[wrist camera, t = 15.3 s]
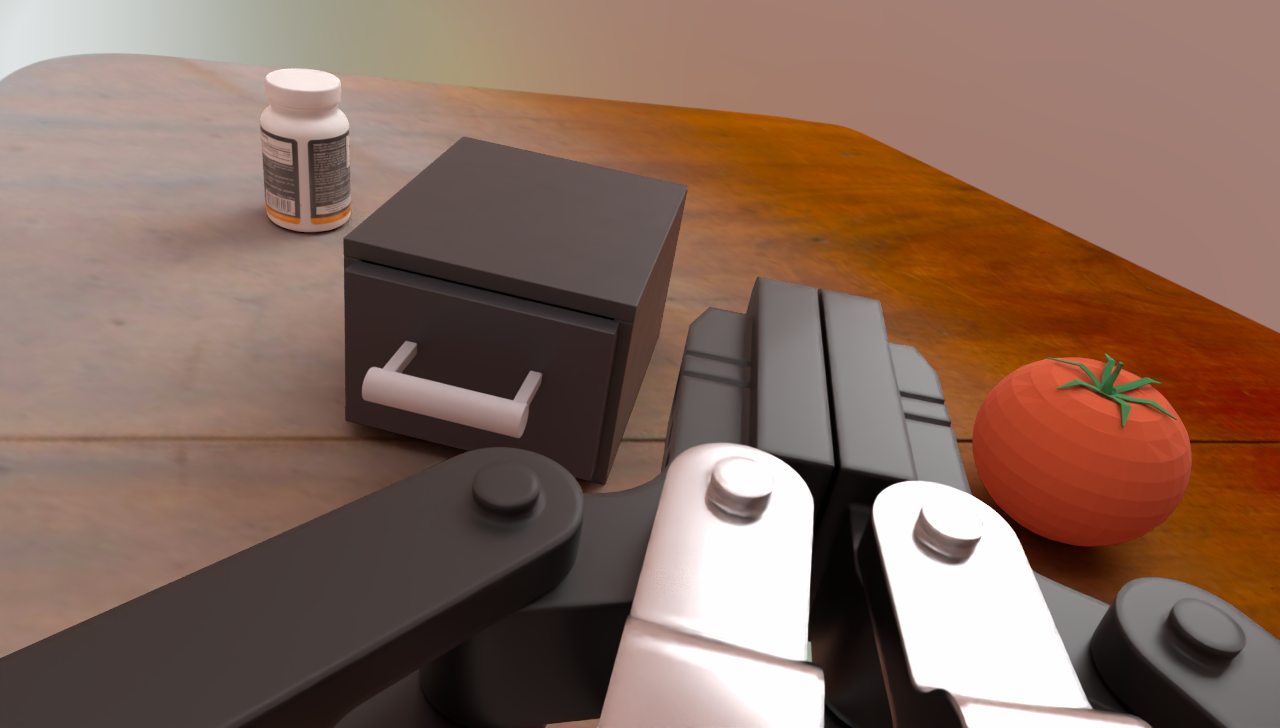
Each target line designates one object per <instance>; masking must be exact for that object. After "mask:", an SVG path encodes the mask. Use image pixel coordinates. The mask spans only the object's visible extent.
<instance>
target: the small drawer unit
mask: <svg viewBox="0 0 1280 728" xmlns="http://www.w3.org/2000/svg"><path fill="white" fill-rule="evenodd" d="M687 189H688V186H685V185H681V184H676V183H672V182H667V181H662V180H658V179H653V178H649V177H644V176H640V175H635V174H631V173H626V172H622V171H617V170H613V169H608V168H604V167H599V166H595V165H590V164H586V163H581V162H577V161H572V160H568V159H563V158H559V157H554V156H549V155H545V154H540V153H536V152H531V151H527V150H522V149H518V148H513V147H509V146H504V145H500V144H495V143H491V142H486V141H482V140H477V139H473V138H468V137H462V138H461V139H460V140H458V141H457V142H456V143H455V144H454V145H453V146H451V147H450V148H449V149H448V150H447V151H446V152H444V153H443V154H442V155H441V156H440V157H439V158H437V159H436V160H435V161H434V162H433V163H431V164H430V165H429V166H428V167H427V168H426V169H424V170H423V171H422V172H421V173H420V174H419V175H417V176H416V177H415V178H414V179H413V180H412V181H410V182H409V183H408V184H407V185H406V186H404V187H403V188H402V189H401V190H400V191H399V192H397V193H396V194H395V195H394V196H393V197H392V198H390V199H389V200H388V201H387V202H386V203H384V204H383V205H382V206H381V207H380V208H379V209H377V210H376V211H375V212H374V213H373V214H372V215H370V216H369V217H368V218H367V219H366V220H365V221H363V222H362V223H361V224H360V225H359V226H357V227H356V228H355V229H354V230H353V231H352V232H350V233H349V234H348V235H347V236H346V237H345V238H344V271H345V270H346V269H347V268H348V267H349V266H350V265H351V264H352V263H353V262H354V261H355V260H357V261H361V262H366V263H370V264H374V265H378V266H383V267H385V265H387V266H391V267H395V268H400V269H404V270H408V271H412V272H417V273H421V274H425V275H430V276H434V277H438V278H442V279H447V280H451V281H455V282H459V283H464V284H468V285H472V286H476V287H481V288H485V289H489V290H494V291H498V292H502V293H506V294H511V295H515V296H519V297H523V298H528V299H532V300H536V301H541V302H545V303H549V304H553V305H558V306H562V307H566V308H570V309H575V310H579V311H583V312H588V313H592V314H596V315H600V316H605V317H609V318H613V319H615V320H614V321H617V322H620V328H619V334H618V340H617V346H616V351H615V357H614V363H613V369H612V375H611V381H610V387H609V393H608V399H607V405H606V411H605V417H604V423H603V429H602V435H601V441H600V447H599V452H598V458H597V464H596V468H595V471H594V474H593V476H592V479H591V481H594V482H598V483H602V484H605V483H606V481H607V478H608V475H609V473H610V470H611V467H612V464H613V461H614V459H615V456H616V453H617V450H618V448H619V445H620V442H621V439H622V436H623V434H624V431H625V428H626V425H627V423H628V420H629V417H630V414H631V412H632V409H633V406H634V403H635V400H636V398H637V395H638V392H639V389H640V387H641V384H642V381H643V378H644V375H645V373H646V370H647V367H648V364H649V362H650V359H651V356H652V353H653V350H654V348H655V345H656V342H657V339H658V337H659V333H660V328H661V322H662V317H663V312H664V307H665V302H666V297H667V292H668V286H669V281H670V276H671V271H672V266H673V261H674V256H675V251H676V245H677V240H678V235H679V230H680V225H681V220H682V215H683V210H684V204H685V199H686V194H687ZM345 419H346V406H345Z"/></svg>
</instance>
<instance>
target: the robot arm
mask: <svg viewBox="0 0 1280 728" xmlns="http://www.w3.org/2000/svg"><path fill="white" fill-rule="evenodd" d="M944 401H945V399H944V395H943V392H942V388H941V385H940V381H939V378H938V374H937V372H936V371H935V370H934V369H933V368H932V367H931V366H930V365H929V363H928V362H927V361H926V360H925V359H924V358H923V357H922V356H921V354H920V353H919V352H918V351H917V350H916V349H915V348H914V347H912V346H907V345H902V344H897V343H892V342H889V341H888V336H887V332H886V327H885V322H884V318H883V313H882V308H881V304H880V301H879V300H876V299H871V298H866V297H861V296H856V295H851V294H845V293H840V292H835V291H830V290H825V289H819V290H818V291H817V289H816V288H814V287H809V286H803V285H798V284H793V283H788V282H783V281H778V280H773V279H768V278H762V277H757V279H756V281H755V284H754V287H753V291H752V294H751V298H750V302H749V306H748V310H747V313H746V314H742V313H737V312H732V311H727V310H722V309H717V308H712V307H709V308H708V309H707V310H706V311H705V312H704V313H702V314H701V315H700V316H699V317H698V318H697V319H696V320H695V321H694V322H693V323H692V324H690V326H689V331H688V336H687V340H686V345H685V349H684V354H683V358H682V363H681V367H680V372H679V377H678V381H677V386H676V390H675V395H674V399H673V404H672V409H671V413H670V418H669V422H668V428H667V435H666V442H665V449H664V456H663V462H662V469H661V474H659V475H658V476H657V477H655V478H654V479H653V480H651V481H649V482H647V483H645V484H643V485H641V486H638V487H635V488H633V489H629V490H624V491H620V492H611V493H594V494H583V491H582V489H581V487H580V485H579V483H578V482H577V480H576V479H575V478H574V476H573V475H572V474H571V473H570V472H569V471H568V470H567V469H565V468H564V467H563V466H561V465H560V464H558V463H557V462H555V461H553V460H552V459H550V458H548V457H546V456H543V455H540V454H538V453H535V452H532V451H527V450H523V449H517V448H509V447H491V448H481V449H477V450H472V451H468V452H465V453H462V454H460V455H457V456H455V457H452V458H450V459H448V460H446V461H443V462H441V463H439V464H437V465H434V466H432V467H430V468H428V469H425V470H423V471H421V472H419V473H416V474H414V475H412V476H410V477H407V478H405V479H403V480H401V481H398V482H396V483H394V484H392V485H389V486H387V487H385V488H383V489H380V490H378V491H376V492H374V493H371V494H369V495H367V496H365V497H362V498H360V499H358V500H356V501H353V502H351V503H349V504H347V505H344V506H342V507H340V508H338V509H335V510H333V511H331V512H329V513H326V514H324V515H322V516H320V517H317V518H315V519H313V520H311V521H308V522H306V523H304V524H302V525H299V526H297V527H295V528H293V529H290V530H288V531H286V532H284V533H281V534H279V535H277V536H275V537H272V538H270V539H268V540H266V541H263V542H261V543H259V544H257V545H254V546H252V547H250V548H248V549H245V550H243V551H241V552H239V553H236V554H234V555H232V556H230V557H227V558H225V559H223V560H221V561H218V562H216V563H214V564H212V565H209V566H207V567H205V568H203V569H200V570H198V571H196V572H194V573H191V574H189V575H187V576H185V577H182V578H180V579H178V580H176V581H173V582H171V583H169V584H167V585H164V586H162V587H160V588H158V589H155V590H153V591H151V592H149V593H146V594H144V595H142V596H140V597H137V598H135V599H133V600H131V601H128V602H126V603H124V604H122V605H119V606H117V607H115V608H113V609H110V610H108V611H106V612H104V613H101V614H99V615H97V616H95V617H92V618H90V619H88V620H86V621H83V622H81V623H79V624H77V625H74V626H72V627H70V628H68V629H65V630H63V631H61V632H59V633H56V634H54V635H52V636H50V637H47V638H45V639H43V640H41V641H38V642H36V643H34V644H32V645H29V646H27V647H25V648H23V649H20V650H18V651H16V652H14V653H11V654H9V655H7V656H5V657H2V658H0V728H545V727H546V725H547V724H553V723H562V722H571V721H580V720H589V719H598V718H600V721H599V725H598V728H1280V641H1279V640H1277V639H1276V638H1275V637H1273V636H1272V635H1271V634H1269V633H1268V632H1267V631H1265V630H1264V629H1263V628H1261V627H1260V626H1259V625H1258V624H1256V623H1255V622H1254V621H1252V620H1251V619H1250V618H1248V617H1247V616H1246V615H1244V614H1243V613H1242V612H1240V611H1239V610H1237V609H1236V608H1234V607H1233V606H1232V605H1230V604H1229V603H1227V602H1225V601H1224V600H1222V599H1220V598H1218V597H1217V596H1215V595H1213V594H1211V593H1209V592H1207V591H1205V590H1203V589H1201V588H1198V587H1195V586H1193V585H1190V584H1187V583H1184V582H1180V581H1177V580H1173V579H1167V578H1161V577H1145V578H1138V579H1135V580H1133V581H1130V582H1128V583H1127V584H1125V585H1124V586H1123V587H1122V588H1121V590H1120V591H1119V592H1118V594H1117V596H1116V597H1115V599H1114V600H1113V602H1112V604H1111V605H1109V604H1106V603H1104V602H1102V601H1099V600H1097V599H1095V598H1092V597H1090V596H1088V595H1085V594H1083V593H1081V592H1078V591H1076V590H1073V589H1071V588H1069V587H1066V586H1064V585H1062V584H1059V583H1057V582H1055V581H1052V580H1050V579H1048V578H1046V577H1044V576H1042V575H1040V574H1038V573H1036V572H1035V571H1033V570H1032V569H1031V567H1030V565H1029V562H1028V560H1027V558H1026V555H1025V553H1024V551H1023V548H1022V546H1021V544H1020V541H1019V539H1018V538H1017V536H1016V534H1015V532H1014V531H1013V529H1012V528H1011V527H1010V525H1009V524H1008V523H1007V522H1006V521H1005V520H1004V519H1003V518H1002V517H1001V516H1000V515H999V514H998V513H997V512H996V511H994V510H993V509H992V508H991V507H989V506H988V505H986V504H985V503H983V502H982V501H980V500H979V499H977V498H975V497H973V496H972V494H971V491H970V487H969V484H968V480H967V477H966V473H965V470H964V466H963V463H962V459H961V455H960V452H959V448H958V445H957V441H956V438H955V434H954V431H953V428H951V427H950V424H951V420H950V417H949V413H948V410H947V406H946V405H944ZM808 642H811V655H812V662H809V661H807V643H808Z"/></svg>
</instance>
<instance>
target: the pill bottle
mask: <svg viewBox="0 0 1280 728" xmlns="http://www.w3.org/2000/svg"><path fill="white" fill-rule="evenodd" d="M265 87H266V96H267V97H268V99H269V101H270V102H271V105H269V106H268V107H267V108H266V109H265V110H264V111H263V113H262V115H261V118H260V127H261V141H262V154H263V170H264V185H265V199H266V211H267V215H268V217H269V218H270V219H271V220H272V221H273V222H274V223H275V224H277V225H279V226H281V227H283V228H286V229H290V230H294V231H300V232H320V231H327V230H332V229H335V228H337V227H339V226H341V225H343V224H344V223H345V222H346V221H347V220H348V219H349V217H350V214H351V193H350V133H349V122H348V120H347V117H346V116H345V115H344V113H343V112H342V111H340V110H339V109H338V107H337V105H338V104H339V102H340V100H341V83H340V80H339V79H338V78H337V77H336V76H334V75H332V74H330V73H326V72H323V71H318V70H312V69H282V70H277V71H273V72H271V73H269V74H268V75H267V76H266V78H265Z"/></svg>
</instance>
